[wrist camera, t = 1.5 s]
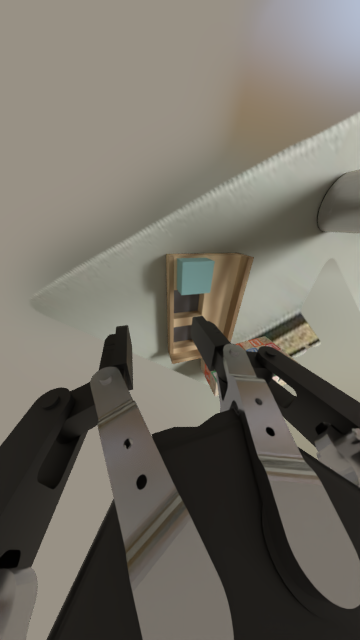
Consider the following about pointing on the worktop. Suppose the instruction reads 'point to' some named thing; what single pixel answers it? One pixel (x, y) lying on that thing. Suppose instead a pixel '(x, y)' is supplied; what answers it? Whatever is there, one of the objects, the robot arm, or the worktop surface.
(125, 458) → the robot arm
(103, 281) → the worktop surface
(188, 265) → the block
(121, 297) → the worktop surface
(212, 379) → the stack of blocks
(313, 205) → the worktop surface
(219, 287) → the board
